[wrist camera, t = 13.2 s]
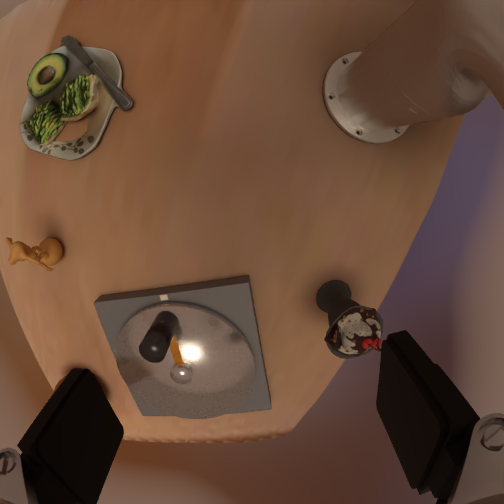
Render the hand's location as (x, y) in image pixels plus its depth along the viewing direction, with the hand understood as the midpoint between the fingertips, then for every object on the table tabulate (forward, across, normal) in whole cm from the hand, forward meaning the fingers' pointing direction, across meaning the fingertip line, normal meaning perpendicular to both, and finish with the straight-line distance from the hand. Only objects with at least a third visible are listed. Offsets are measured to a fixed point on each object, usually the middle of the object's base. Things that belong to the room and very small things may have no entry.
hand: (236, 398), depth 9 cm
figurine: (+31, +28, -2) cm, 41 cm away
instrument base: (+30, +12, +18) cm, 37 cm away
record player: (+28, +12, +18) cm, 35 cm away
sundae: (+31, -10, +12) cm, 34 cm away
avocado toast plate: (+31, +22, -22) cm, 44 cm away
